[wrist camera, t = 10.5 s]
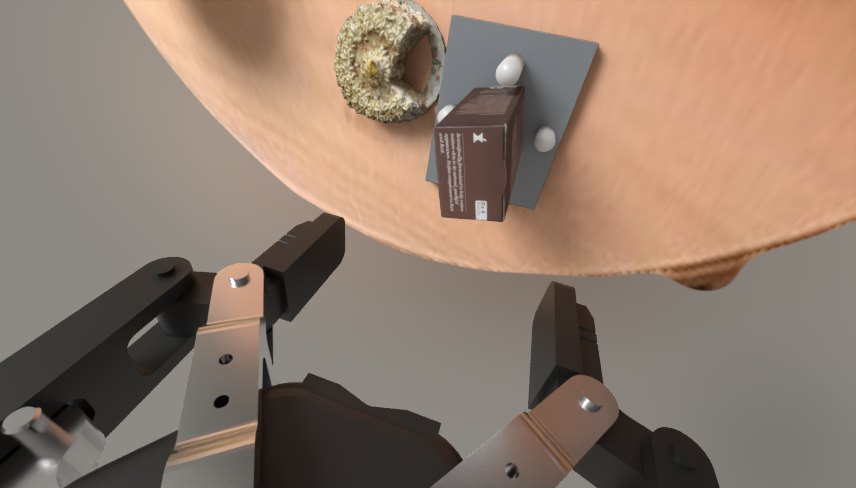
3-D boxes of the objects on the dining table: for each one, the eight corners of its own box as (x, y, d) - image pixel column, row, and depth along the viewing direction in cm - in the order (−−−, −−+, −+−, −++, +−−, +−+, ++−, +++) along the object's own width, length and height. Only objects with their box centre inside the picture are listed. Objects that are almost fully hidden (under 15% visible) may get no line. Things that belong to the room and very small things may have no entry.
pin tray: (596, 42, 25) (609, 49, 20) (533, 204, 33) (532, 237, 28) (455, 15, 27) (434, 14, 22) (428, 176, 35) (409, 202, 30)
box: (469, 87, 28) (430, 124, 18) (525, 84, 27) (514, 122, 17) (471, 158, 31) (438, 220, 22) (521, 158, 30) (510, 224, 20)
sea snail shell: (361, 124, 35) (331, 138, 30) (334, 6, 30) (293, 5, 25) (453, 117, 31) (433, 133, 27) (440, -18, 26) (412, -25, 22)
